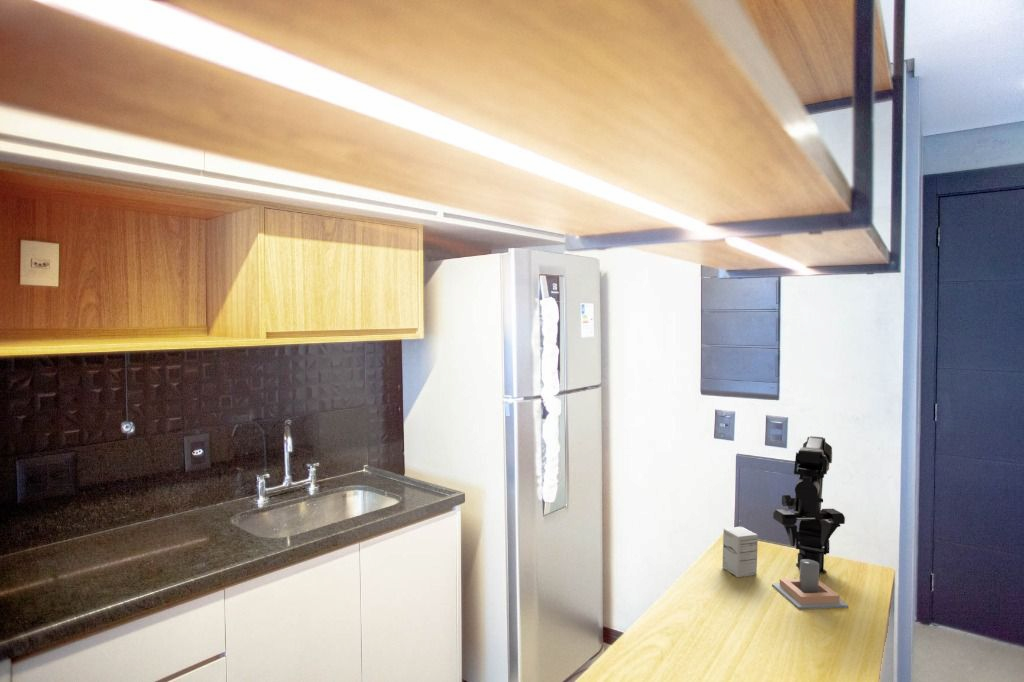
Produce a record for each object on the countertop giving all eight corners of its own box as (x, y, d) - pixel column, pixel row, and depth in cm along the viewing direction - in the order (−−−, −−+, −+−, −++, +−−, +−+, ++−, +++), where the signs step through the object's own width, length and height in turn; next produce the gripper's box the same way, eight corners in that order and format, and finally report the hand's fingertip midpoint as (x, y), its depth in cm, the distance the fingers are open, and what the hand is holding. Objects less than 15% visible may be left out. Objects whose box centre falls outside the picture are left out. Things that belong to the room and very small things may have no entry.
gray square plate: (817, 584, 176) (817, 575, 176) (848, 607, 162) (848, 598, 162) (771, 585, 175) (772, 576, 174) (798, 609, 161) (798, 599, 160)
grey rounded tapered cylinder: (811, 589, 171) (812, 558, 170) (821, 597, 166) (822, 565, 165) (795, 590, 170) (796, 559, 170) (805, 598, 165) (806, 566, 165)
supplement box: (721, 568, 186) (722, 528, 186) (741, 565, 189) (742, 525, 188) (737, 578, 179) (738, 536, 179) (757, 575, 182) (758, 534, 181)
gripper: (823, 484, 182) (822, 534, 183) (764, 485, 180) (763, 536, 181) (846, 495, 171) (845, 549, 171) (784, 496, 169) (782, 550, 170)
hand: (807, 545), depth 174 cm, fingers open, 9 cm apart
